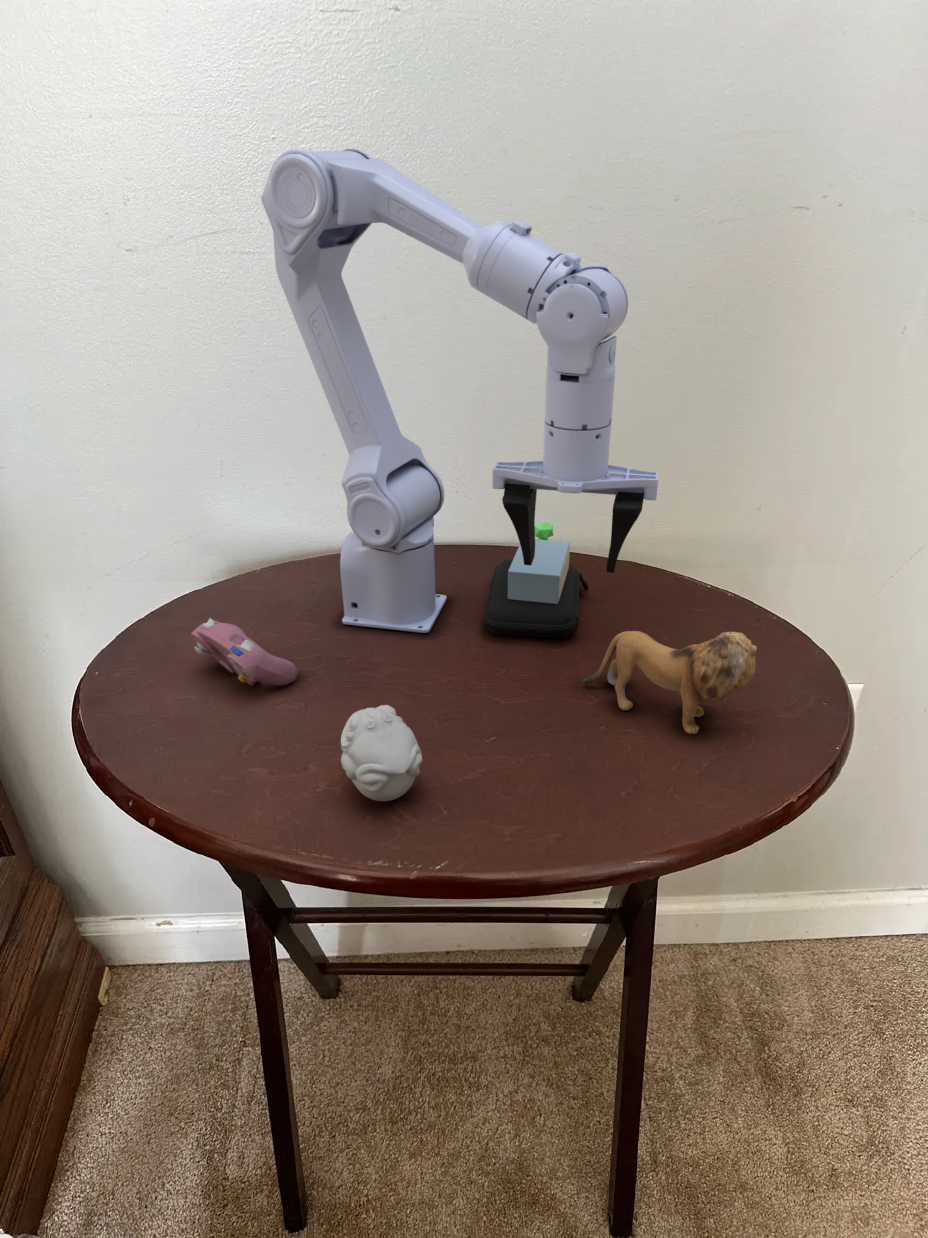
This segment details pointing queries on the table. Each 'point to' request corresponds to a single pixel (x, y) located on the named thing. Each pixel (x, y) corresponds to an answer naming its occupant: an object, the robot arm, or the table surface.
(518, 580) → the pale blue rectangular box
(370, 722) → the frog figurine
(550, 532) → the game piece
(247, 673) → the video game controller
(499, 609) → the carrying case
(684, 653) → the lion figurine
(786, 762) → the table surface
